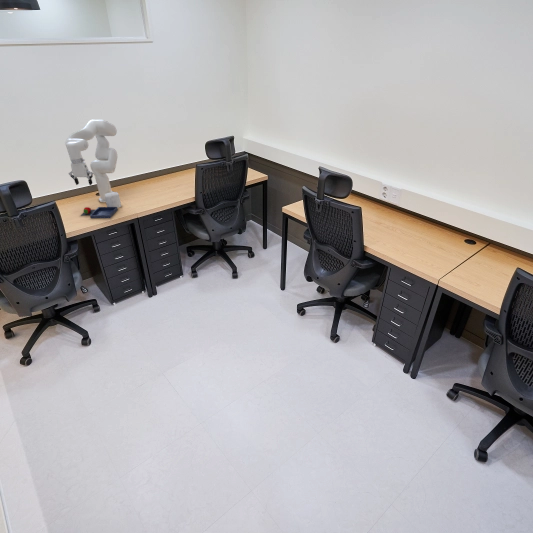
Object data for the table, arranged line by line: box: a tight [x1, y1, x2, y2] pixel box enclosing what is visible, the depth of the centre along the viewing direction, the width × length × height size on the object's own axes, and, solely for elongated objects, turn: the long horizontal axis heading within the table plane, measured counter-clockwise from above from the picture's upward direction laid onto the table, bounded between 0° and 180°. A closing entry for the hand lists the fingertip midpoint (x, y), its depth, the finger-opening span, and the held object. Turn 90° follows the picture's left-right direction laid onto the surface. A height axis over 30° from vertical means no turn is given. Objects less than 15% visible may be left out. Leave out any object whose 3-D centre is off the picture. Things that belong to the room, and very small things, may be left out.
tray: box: [89, 206, 119, 219], centre depth 261 cm, size 15×14×3 cm
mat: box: [80, 209, 96, 217], centre depth 264 cm, size 11×7×1 cm, turn 179°
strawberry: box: [83, 206, 92, 214], centre depth 262 cm, size 8×4×4 cm, turn 179°
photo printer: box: [105, 191, 122, 209], centre depth 268 cm, size 10×4×12 cm, turn 123°
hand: (84, 184), depth 253 cm, fingers open, 9 cm apart
